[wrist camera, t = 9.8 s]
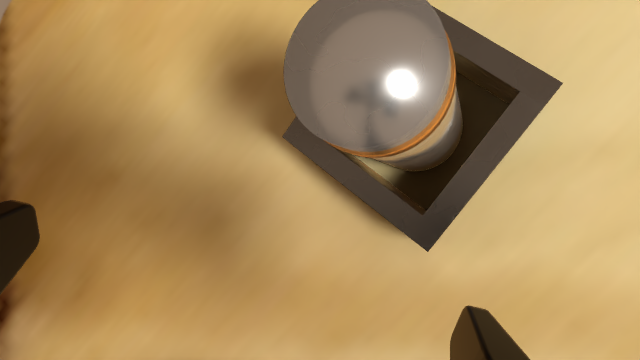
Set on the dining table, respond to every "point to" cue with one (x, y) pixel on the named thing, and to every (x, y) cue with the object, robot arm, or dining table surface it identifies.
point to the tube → (376, 80)
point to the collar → (524, 105)
